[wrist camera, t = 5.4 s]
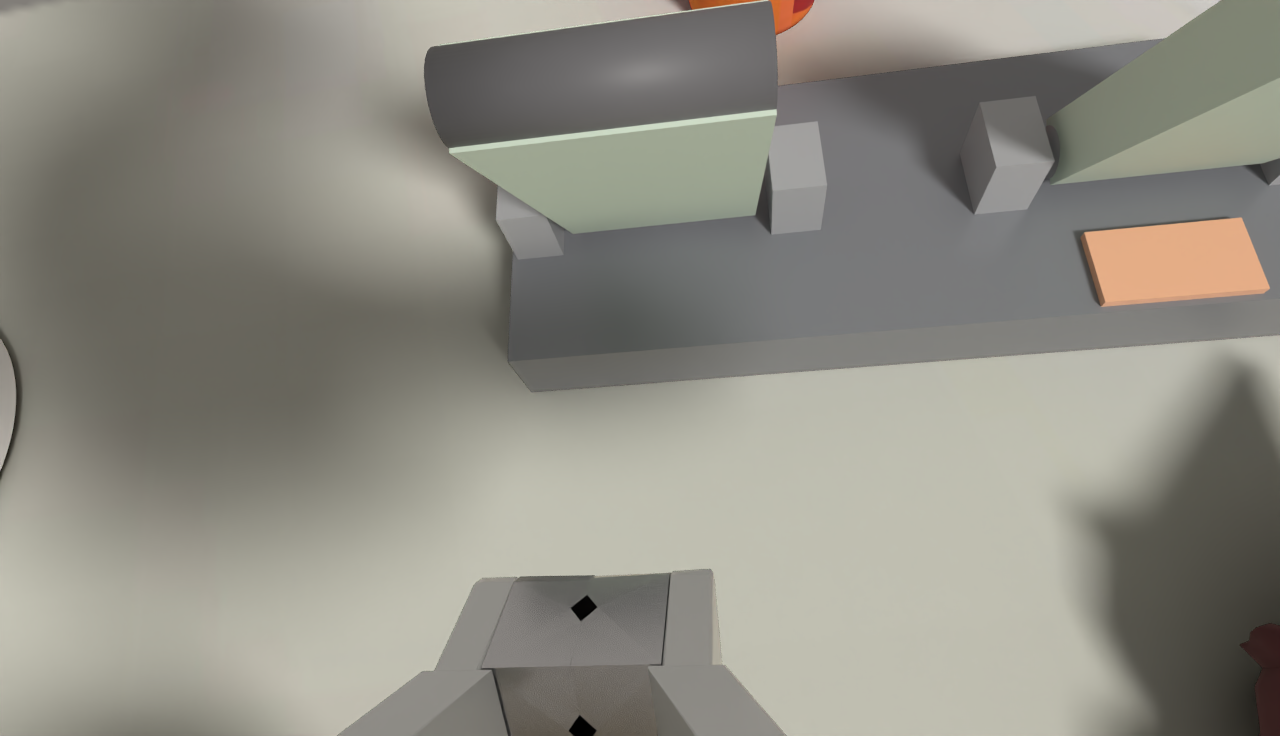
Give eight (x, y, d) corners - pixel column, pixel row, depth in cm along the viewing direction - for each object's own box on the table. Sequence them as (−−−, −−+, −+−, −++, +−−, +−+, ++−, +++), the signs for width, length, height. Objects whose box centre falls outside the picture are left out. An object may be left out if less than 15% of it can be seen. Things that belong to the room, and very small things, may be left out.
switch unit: (531, 392, 27) (482, 329, 22) (539, 164, 31) (499, 69, 26) (1317, 331, 24) (1459, 244, 19) (1215, 87, 27) (1311, -37, 23)
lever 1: (577, 237, 26) (429, 140, 13) (572, 178, 25) (419, 24, 13) (754, 218, 25) (779, 99, 12) (749, 158, 25) (771, -26, 12)
